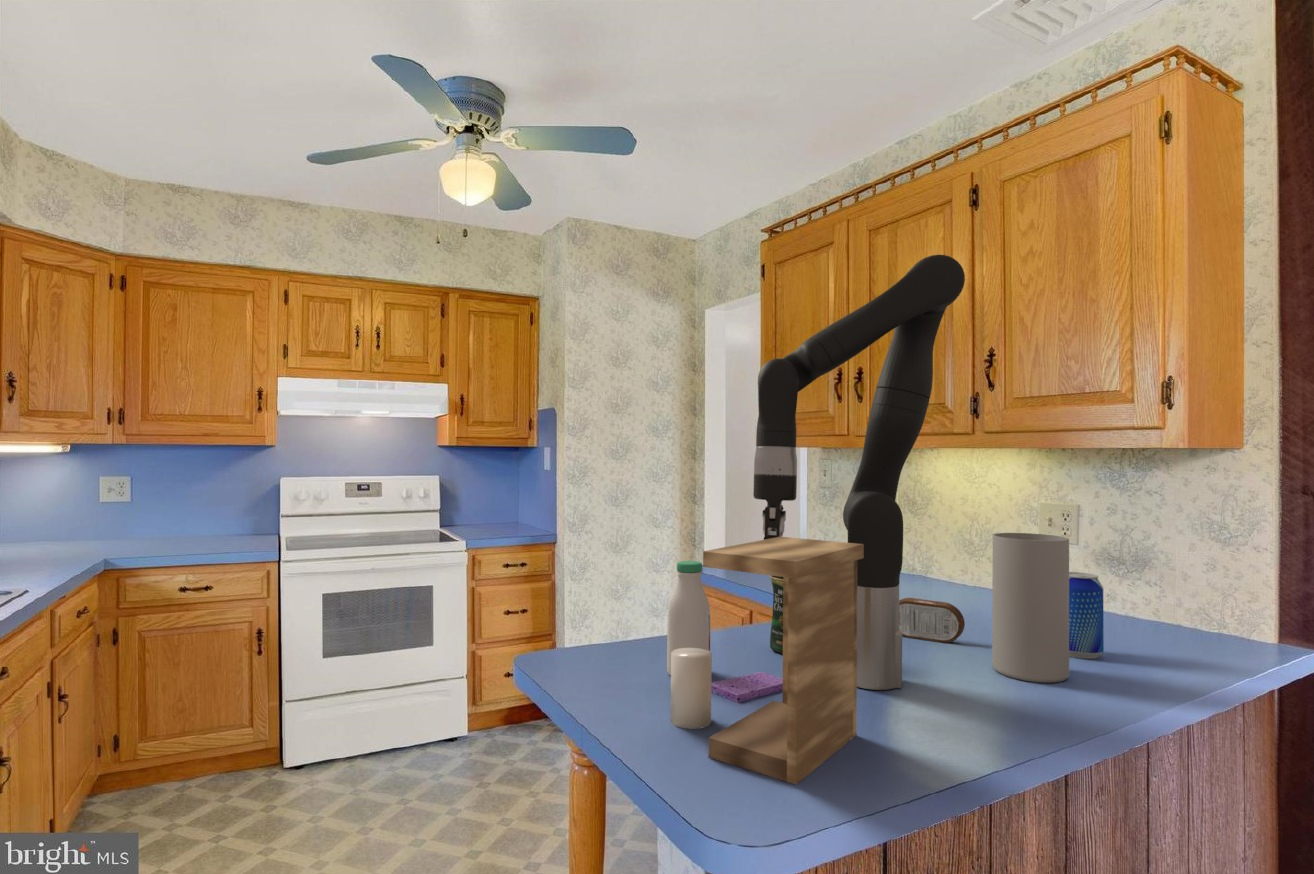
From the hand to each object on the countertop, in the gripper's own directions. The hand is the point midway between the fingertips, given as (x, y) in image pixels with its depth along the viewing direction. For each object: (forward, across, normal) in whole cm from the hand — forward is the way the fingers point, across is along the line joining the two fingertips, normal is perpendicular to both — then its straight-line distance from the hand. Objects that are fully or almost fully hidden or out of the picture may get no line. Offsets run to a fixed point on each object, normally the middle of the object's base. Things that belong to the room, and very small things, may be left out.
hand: (773, 565), depth 126 cm
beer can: (+18, +33, -60) cm, 71 cm away
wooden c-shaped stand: (+21, -28, -4) cm, 35 cm away
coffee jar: (+20, +20, -4) cm, 28 cm away
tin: (+18, +37, -31) cm, 52 cm away
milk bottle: (+20, +1, +15) cm, 25 cm away
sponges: (+21, -5, +3) cm, 22 cm away
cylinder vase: (+19, +16, -46) cm, 53 cm away
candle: (+21, -21, +10) cm, 32 cm away
